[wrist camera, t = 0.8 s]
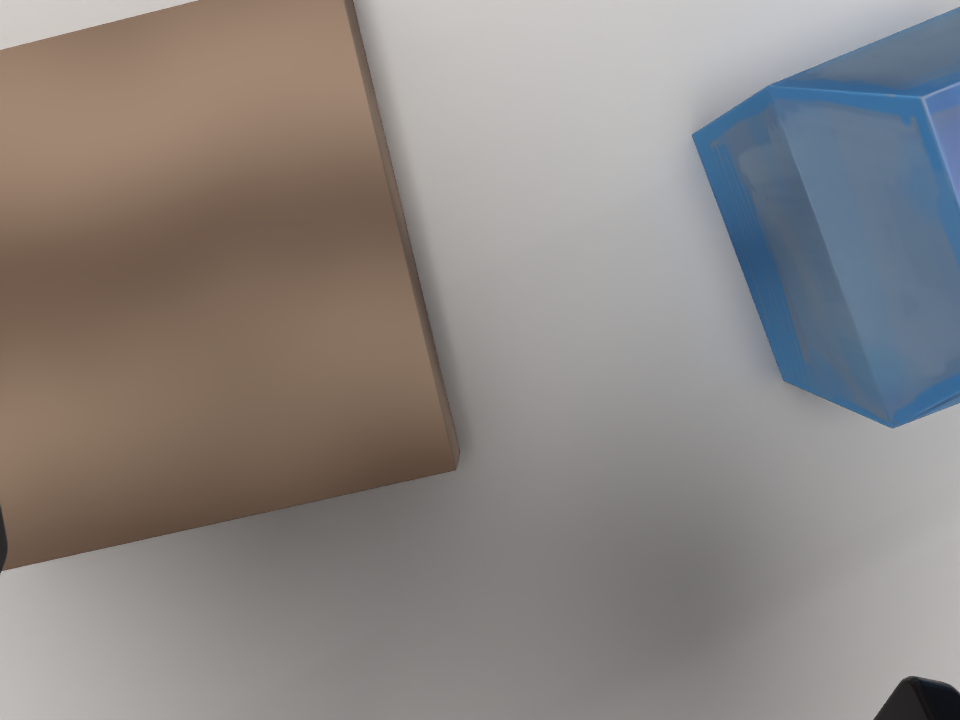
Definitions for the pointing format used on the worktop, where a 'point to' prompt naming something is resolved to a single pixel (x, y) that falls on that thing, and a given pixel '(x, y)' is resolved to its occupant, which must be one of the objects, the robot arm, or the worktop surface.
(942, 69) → the perfume bottle
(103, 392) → the walnut block
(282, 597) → the worktop surface
